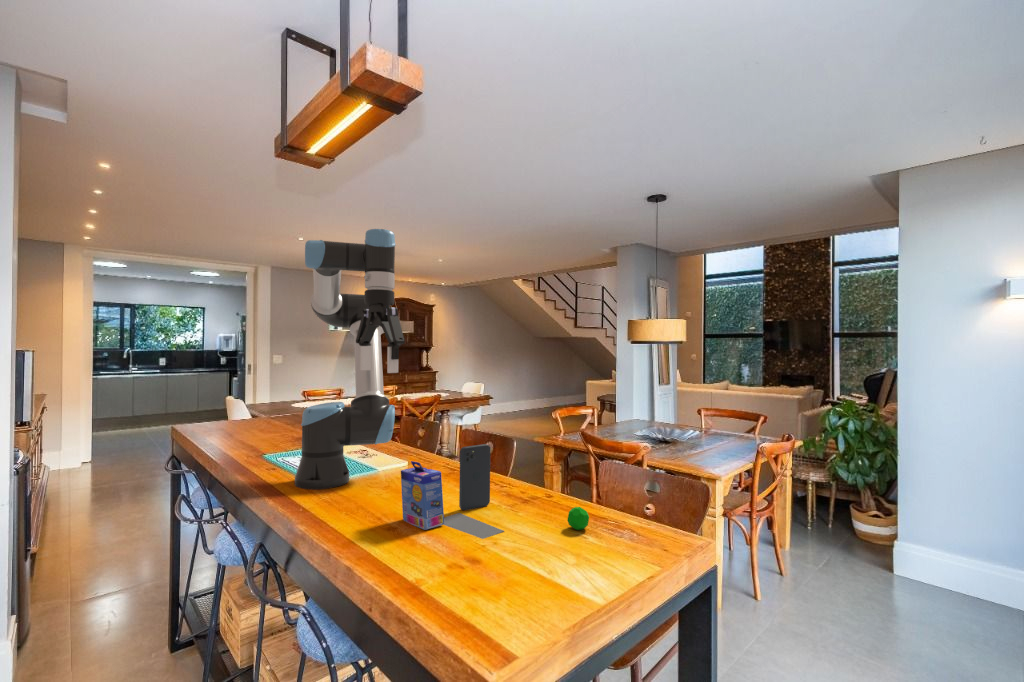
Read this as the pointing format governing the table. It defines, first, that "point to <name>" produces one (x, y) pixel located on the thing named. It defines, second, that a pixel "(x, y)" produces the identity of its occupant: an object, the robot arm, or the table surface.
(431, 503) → the ink cartridge box
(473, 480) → the phone case
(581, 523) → the polyhedron
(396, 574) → the table surface
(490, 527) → the mat
